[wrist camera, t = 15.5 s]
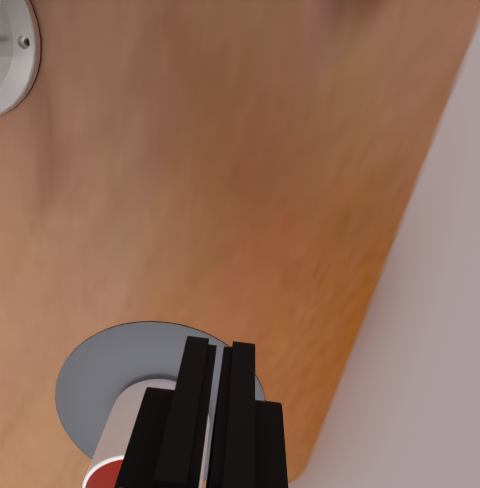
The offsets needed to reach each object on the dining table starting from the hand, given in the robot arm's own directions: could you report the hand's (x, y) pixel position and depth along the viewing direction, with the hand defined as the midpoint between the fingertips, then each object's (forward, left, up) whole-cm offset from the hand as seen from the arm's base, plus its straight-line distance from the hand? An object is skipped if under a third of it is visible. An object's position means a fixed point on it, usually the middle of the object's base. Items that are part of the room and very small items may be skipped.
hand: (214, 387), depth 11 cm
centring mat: (-5, -28, -27) cm, 39 cm away
